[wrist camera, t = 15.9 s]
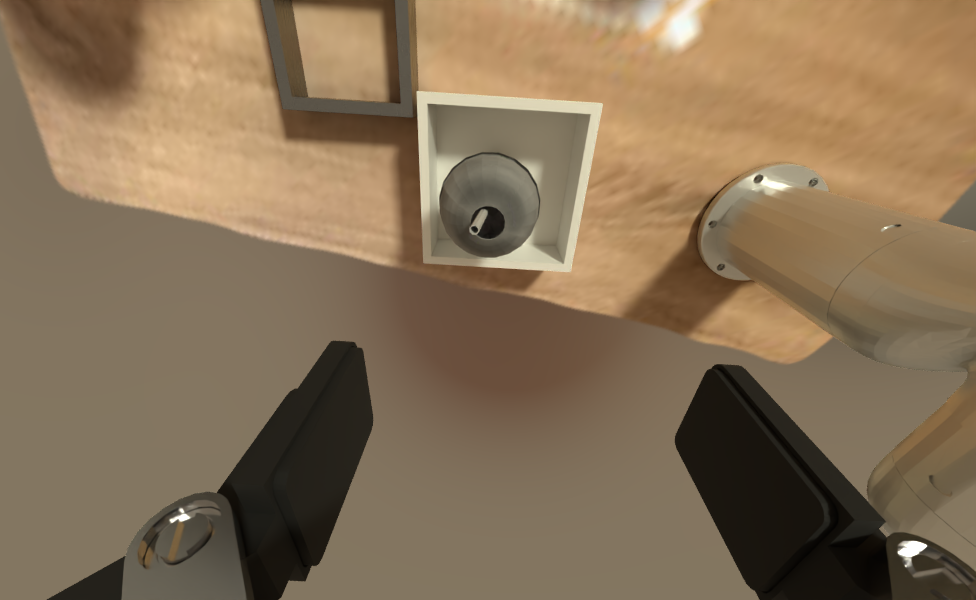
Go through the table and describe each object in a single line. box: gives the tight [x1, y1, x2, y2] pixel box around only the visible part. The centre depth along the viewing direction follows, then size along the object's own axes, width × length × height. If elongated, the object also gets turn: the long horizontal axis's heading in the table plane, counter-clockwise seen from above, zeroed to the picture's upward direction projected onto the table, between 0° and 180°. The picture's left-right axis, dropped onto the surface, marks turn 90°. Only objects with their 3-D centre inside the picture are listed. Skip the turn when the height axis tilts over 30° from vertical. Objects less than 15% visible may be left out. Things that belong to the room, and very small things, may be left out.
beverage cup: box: [439, 152, 540, 258], centre depth 26 cm, size 7×7×20 cm
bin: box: [417, 91, 603, 272], centre depth 33 cm, size 15×15×6 cm
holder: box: [260, 0, 418, 118], centre depth 29 cm, size 11×11×3 cm
